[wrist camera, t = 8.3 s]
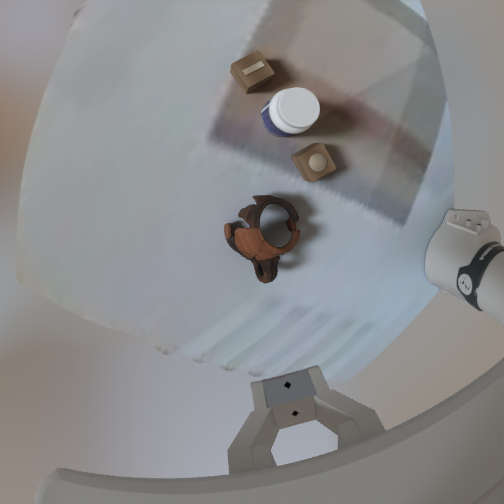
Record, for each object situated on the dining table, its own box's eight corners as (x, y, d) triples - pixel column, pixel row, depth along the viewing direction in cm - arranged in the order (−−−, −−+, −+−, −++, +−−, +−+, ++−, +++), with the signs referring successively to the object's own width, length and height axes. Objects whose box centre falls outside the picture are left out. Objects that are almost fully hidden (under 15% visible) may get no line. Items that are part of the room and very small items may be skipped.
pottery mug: (213, 206, 40) (240, 195, 33) (267, 197, 44) (300, 187, 37) (231, 287, 41) (261, 294, 34) (282, 270, 46) (317, 272, 39)
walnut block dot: (313, 143, 38) (323, 142, 34) (326, 166, 39) (337, 168, 35) (290, 156, 38) (298, 156, 34) (303, 179, 39) (312, 183, 36)
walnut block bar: (254, 59, 33) (258, 49, 29) (269, 80, 34) (275, 73, 30) (230, 72, 33) (231, 63, 29) (245, 93, 34) (248, 86, 30)
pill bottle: (296, 141, 37) (319, 137, 28) (256, 132, 36) (268, 125, 27) (303, 104, 36) (328, 90, 26) (264, 95, 35) (278, 76, 25)
